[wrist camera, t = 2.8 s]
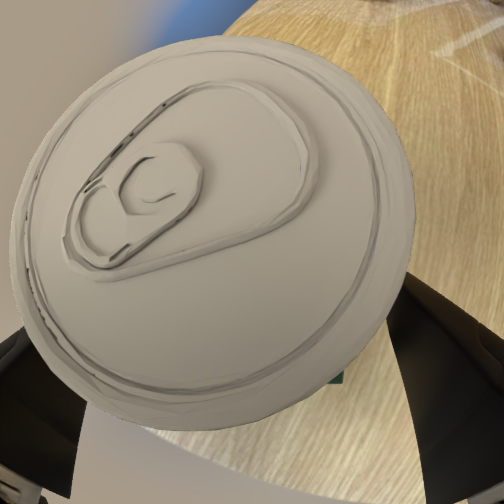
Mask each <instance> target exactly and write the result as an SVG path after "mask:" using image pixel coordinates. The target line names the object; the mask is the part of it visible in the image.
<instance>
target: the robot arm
mask: <svg viewBox="0 0 504 504" xmlns="http://www.w3.org/2000/svg"><path fill="white" fill-rule="evenodd" d="M386 320H387V325H388V330H389V335H390V338H391V342H392V345H393V348H394V352H395V355H396V358H397V362H398V365H399V369H400V372H401V376H402V379H403V383H404V387H405V391H406V395H407V399H408V403H409V407H410V411H411V415H412V420H413V424H414V429H415V434H416V439H417V444H418V449H419V454H420V461H421V467H422V473H423V480H424V488H425V496H426V504H454V503H457V502H459V501H462V500H464V499H466V498H467V499H468V504H504V340H503V339H502V338H500V337H499V336H498V335H496V334H495V333H493V332H492V331H491V330H489V329H488V328H487V327H485V326H484V325H483V324H481V323H478V321H477V320H476V319H475V318H473V317H472V316H471V315H469V314H468V313H466V312H465V311H464V310H462V309H461V308H460V307H458V306H457V305H455V304H454V303H453V302H451V301H450V300H448V299H447V298H445V297H444V296H443V295H441V294H440V293H438V292H437V291H435V290H434V289H432V288H431V287H430V286H428V285H427V284H425V283H424V282H422V281H421V280H419V279H418V278H416V277H415V276H413V275H412V274H410V273H409V272H407V271H406V274H405V278H404V281H403V284H402V287H401V289H400V291H399V293H398V295H397V298H396V300H395V302H394V304H393V306H392V308H391V310H390V312H389V314H388V316H387V317H386ZM86 405H87V401H86V400H85V399H83V398H82V397H81V396H79V395H78V394H77V393H76V392H74V391H73V390H72V389H71V388H69V387H68V386H67V385H66V384H65V383H64V382H63V381H62V380H61V379H60V378H59V377H57V376H56V375H55V374H54V373H53V372H52V371H51V369H50V368H49V366H48V365H47V363H46V362H45V361H44V359H43V358H42V356H41V355H40V353H39V352H38V350H37V349H36V347H35V345H34V344H33V342H32V341H31V339H30V337H29V336H28V334H27V331H26V329H25V326H23V327H22V328H21V329H20V330H19V331H17V332H15V333H14V334H13V335H11V336H10V337H9V338H8V339H6V340H4V341H3V342H2V343H0V504H48V502H47V500H46V498H45V497H43V496H42V495H41V491H42V487H43V488H45V489H47V490H49V491H52V492H54V493H56V494H58V495H60V496H63V497H65V498H67V499H70V495H71V487H72V480H73V473H74V465H75V460H76V454H77V446H78V442H79V437H80V432H81V427H82V423H83V418H84V414H85V410H86Z"/></svg>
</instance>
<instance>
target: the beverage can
mask: <svg viewBox="0 0 504 504" xmlns="http://www.w3.org/2000/svg"><path fill="white" fill-rule="evenodd" d="M415 224H416V207H415V194H414V183H413V175H412V172H411V168H410V165H409V162H408V159H407V156H406V153H405V150H404V148H403V145H402V142H401V140H400V137H399V135H398V132H397V130H396V128H395V127H394V125H393V124H392V122H391V121H390V119H389V118H388V116H387V115H386V113H385V112H384V110H383V109H382V107H381V106H380V104H379V103H378V102H377V100H376V99H375V98H374V97H373V96H372V95H371V93H370V92H369V91H368V90H367V89H366V88H365V87H364V86H363V85H362V84H361V83H360V82H358V81H357V80H356V79H355V78H354V77H352V76H351V75H350V74H349V73H347V72H346V71H344V70H343V69H341V68H340V67H338V66H337V65H335V64H333V63H332V62H330V61H329V60H327V59H325V58H324V57H322V56H320V55H318V54H316V53H313V52H311V51H308V50H306V49H303V48H300V47H298V46H295V45H292V44H289V43H285V42H281V41H276V40H272V39H267V38H262V37H252V36H211V37H204V38H198V39H192V40H186V41H181V42H177V43H174V44H171V45H167V46H164V47H161V48H158V49H155V50H153V51H150V52H148V53H146V54H144V55H142V56H139V57H137V58H135V59H133V60H131V61H129V62H127V63H125V64H123V65H121V66H119V67H117V68H116V69H114V70H113V71H111V72H110V73H109V74H107V75H106V76H104V77H103V78H102V79H100V80H99V81H98V82H96V83H95V84H94V85H92V86H91V87H90V88H89V89H87V90H86V91H85V92H84V93H83V94H82V95H81V96H80V97H79V98H78V99H77V100H75V101H74V102H73V103H72V104H71V105H70V106H69V108H68V109H67V110H66V111H65V112H64V114H63V115H62V116H61V117H60V118H59V120H58V121H57V122H56V123H55V125H54V126H53V127H52V128H51V130H50V131H49V132H48V134H47V135H46V136H45V138H44V140H43V141H42V143H41V145H40V146H39V148H38V150H37V151H36V153H35V155H34V157H33V158H32V160H31V162H30V164H29V166H28V168H27V171H26V174H25V176H24V179H23V182H22V185H21V188H20V191H19V194H18V197H17V200H16V203H15V206H14V210H13V216H12V223H11V232H10V242H9V260H10V273H11V282H12V288H13V293H14V298H15V302H16V305H17V308H18V311H19V314H20V316H21V319H22V321H23V324H24V326H25V329H26V331H27V334H28V336H29V337H30V339H31V341H32V342H33V344H34V345H35V347H36V349H37V350H38V352H39V353H40V355H41V356H42V358H43V359H44V361H45V362H46V363H47V365H48V366H49V368H50V369H51V371H52V372H53V373H54V374H55V375H56V376H57V377H59V378H60V379H61V380H62V381H63V382H64V383H65V384H66V385H67V386H68V387H69V388H71V389H72V390H73V391H74V392H76V393H77V394H78V395H79V396H81V397H82V398H83V399H85V400H86V401H87V402H89V403H90V404H92V405H94V406H96V407H97V408H99V409H101V410H103V411H105V412H107V413H109V414H111V415H113V416H116V417H118V418H120V419H122V420H125V421H129V422H132V423H135V424H139V425H143V426H146V427H150V428H154V429H159V430H170V431H212V430H221V429H226V428H231V427H235V426H240V425H244V424H249V423H253V422H257V421H259V420H261V419H264V418H266V417H268V416H270V415H273V414H275V413H277V412H279V411H281V410H284V409H286V408H288V407H290V406H292V405H294V404H296V403H298V402H300V401H302V400H304V399H306V398H308V397H310V396H311V395H312V394H314V393H315V392H316V391H318V390H319V389H320V388H322V387H323V386H324V385H326V384H327V383H328V382H329V381H331V380H332V379H333V378H335V377H336V376H337V375H338V374H340V373H341V372H342V371H343V370H344V369H345V368H346V367H347V366H348V365H349V364H350V363H351V362H352V361H353V360H354V359H355V358H356V357H357V356H358V354H359V353H360V352H361V351H362V350H363V349H364V348H365V346H366V345H367V344H368V342H369V341H370V340H371V338H372V337H373V336H374V334H375V333H376V331H377V330H378V329H379V327H380V326H381V324H382V323H383V322H384V320H385V319H386V317H387V316H388V314H389V312H390V310H391V308H392V306H393V304H394V302H395V300H396V298H397V295H398V293H399V291H400V289H401V287H402V284H403V281H404V278H405V274H406V271H407V268H408V264H409V261H410V256H411V250H412V244H413V238H414V231H415Z"/></svg>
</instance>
